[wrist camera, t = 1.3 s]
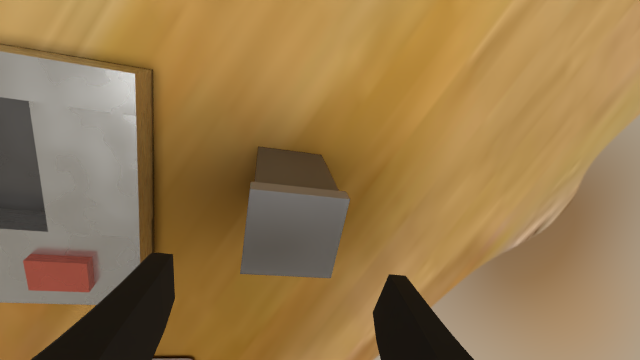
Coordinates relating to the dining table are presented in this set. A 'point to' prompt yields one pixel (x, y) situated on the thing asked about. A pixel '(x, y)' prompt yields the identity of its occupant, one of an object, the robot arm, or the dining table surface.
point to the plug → (292, 216)
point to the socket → (73, 176)
